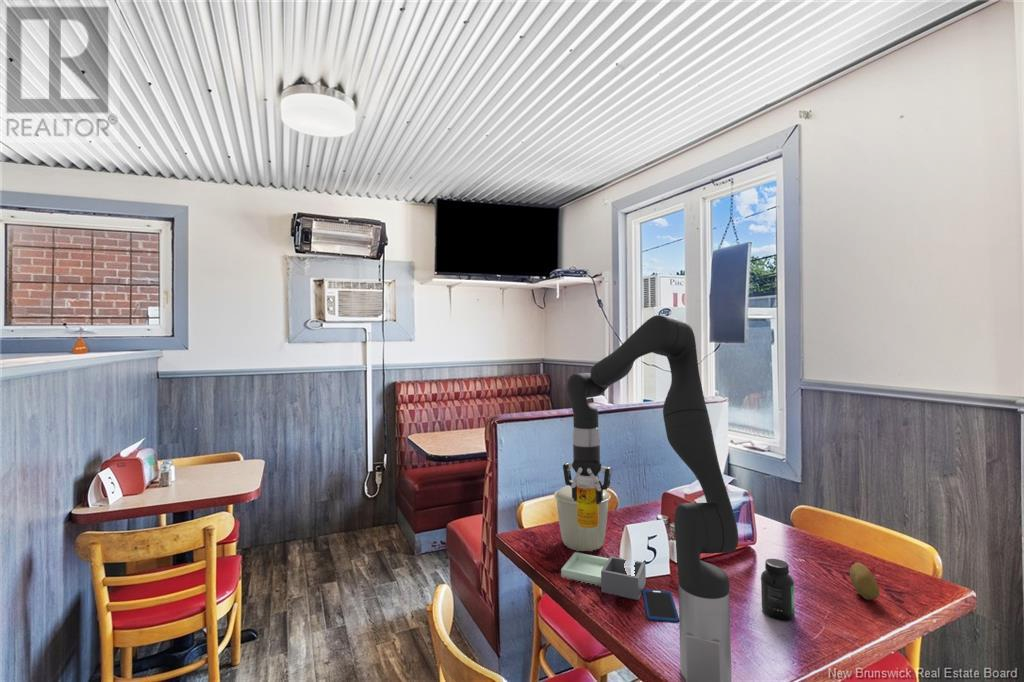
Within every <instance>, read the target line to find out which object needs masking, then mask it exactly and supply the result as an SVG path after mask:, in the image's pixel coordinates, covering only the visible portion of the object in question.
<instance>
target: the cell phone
mask: <svg viewBox="0 0 1024 682" xmlns="http://www.w3.org/2000/svg"><path fill="white" fill-rule="evenodd" d="M641 594H642V597H643V598H642V599H643V604H644V607H645V608H644V609H645V613H646V617H647V620H648V621H652V622H661V623H662V622H663V623H676V624H679V612H678V611H677V606H676V603H675V601H674V598H673V594H672V592H671V590H670V591H669V590H663V589H662V590H661V589H660V590H659V589H647V588H646V589H645V588H644V589H643V590H642V593H641Z"/></svg>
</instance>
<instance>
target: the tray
mask: <svg viewBox="0 0 1024 682" xmlns="http://www.w3.org/2000/svg"><path fill="white" fill-rule="evenodd" d="M609 558H610V557H608V558H607V557H604V556H599V555H598V556H597V555H592V554H589V553H588V554H586V553H583V552H578V551H574V553H573V554H572V555H571V556H570V558H569V559H568V560H567V561H566V563H565V564H564V565H563V566H562V567H561V569H560V572H561V573H560V578H561V577H566V578H570V579H574V580H577V581H576V582H578V581H581V582H580V583H583V582H585V583H584V584H587V583H590V584H589V585H592V584H595V585H594V586H597V585H599V586H598V587H601V570H602V569H603V567H604V566H605V564H606V562H607V561H608V559H609Z"/></svg>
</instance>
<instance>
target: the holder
mask: <svg viewBox="0 0 1024 682" xmlns="http://www.w3.org/2000/svg"><path fill="white" fill-rule="evenodd" d="M608 558H609V559H608V561H607V562H606V564H605V566H604V567H603V569H602V570H601V586H600V587H601V588H600V589H601V593H603V592H605V593H604V594H608V593H609V595H612V594H614V596H617V595H618V597H622V598H626V599H632V600H636V601H639V600H640V598H641V595H642V594H643V593H642V590H643V589H645V586H646V584H647V578H646V574H647V573H646V562H645V561H638V560H635V561H636V562H635V565H634V567H635V570H634V571H635V573H634V574H635V576H631V575H627V573H626V571H625V568H624V563H625V561H626V560H624V559H625V558H623V559H622V557H617V556H611V555H610V556H609V557H608Z"/></svg>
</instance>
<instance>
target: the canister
mask: <svg viewBox="0 0 1024 682" xmlns="http://www.w3.org/2000/svg"><path fill="white" fill-rule="evenodd" d="M553 496H554V498H555V500H556V507H557V515H558V523H559V530H560V535H561V536H560V537H561V540H562V542H563V544H564V546H567V547H566V548H568V549H569V548H571V549H570V550H572V549H573V550H572V551H574V550H576V551H575V552H579V551H591V552H594V551H593V550H595V551H597V550H596V549H598V550H599V549H601V548H602V547H603V546H604V543H605V539H606V531H607V522H608V512H609V511H608V510H609V501H610V499H611V494H610V493H609V492H608V491H607V490H603V501H602V502H601V503H600V504H598V507H599V525H598V526H597V528H596V529H594V530H584V529H581V528H580V527H579V526H578V524H577V501H574V499H573V498H572V487H571V486H569V485H565V486H562V487H561V488H559V489H558V490H556V491H554V494H553ZM601 546H602V547H601Z"/></svg>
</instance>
